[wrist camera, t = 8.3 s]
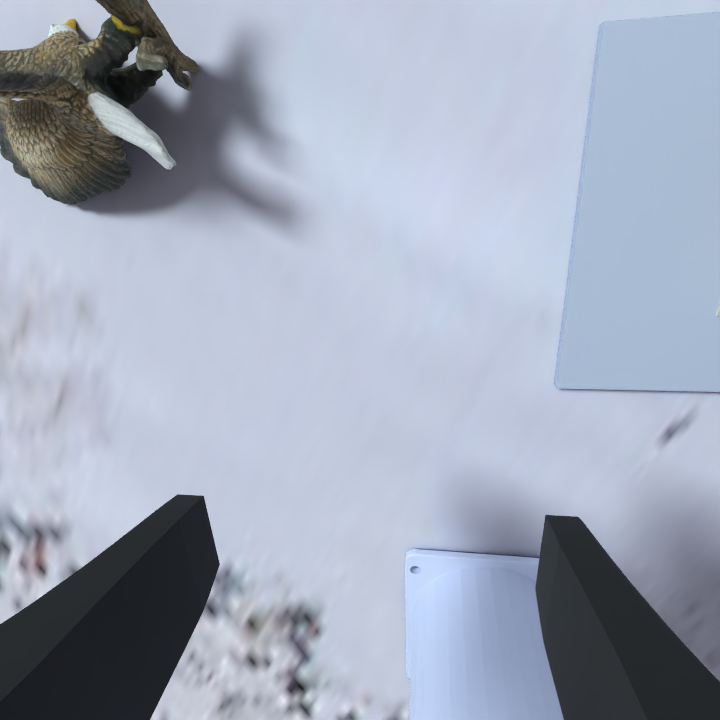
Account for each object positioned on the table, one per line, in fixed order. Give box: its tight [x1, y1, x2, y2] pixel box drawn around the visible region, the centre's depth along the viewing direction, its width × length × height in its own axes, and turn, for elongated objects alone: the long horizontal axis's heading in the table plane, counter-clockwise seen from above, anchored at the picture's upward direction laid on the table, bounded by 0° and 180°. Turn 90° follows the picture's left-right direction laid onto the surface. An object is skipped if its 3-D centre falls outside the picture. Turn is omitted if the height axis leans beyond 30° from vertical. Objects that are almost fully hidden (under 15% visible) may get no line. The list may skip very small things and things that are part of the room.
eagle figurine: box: [0, 0, 198, 204], centre depth 15 cm, size 8×7×9 cm
